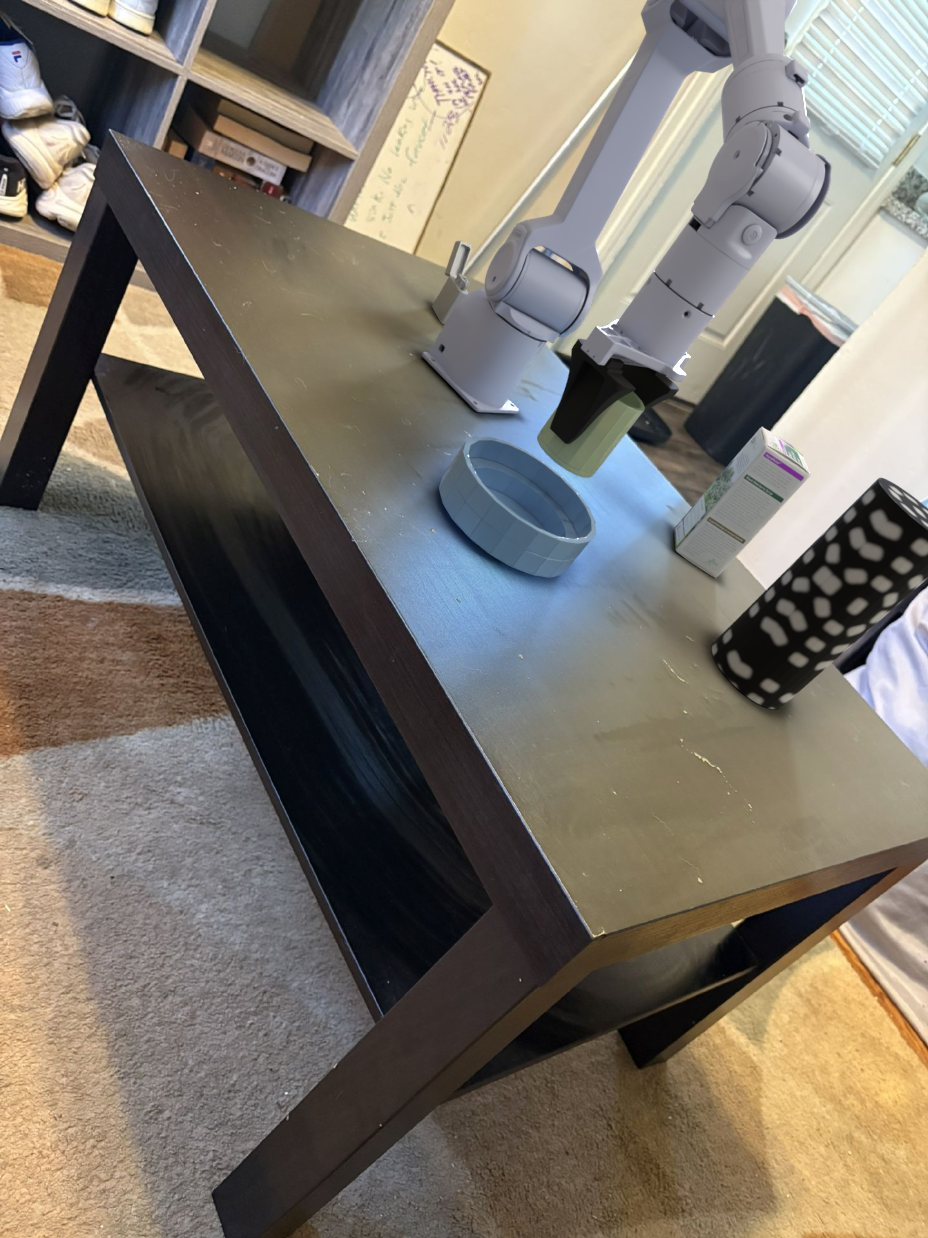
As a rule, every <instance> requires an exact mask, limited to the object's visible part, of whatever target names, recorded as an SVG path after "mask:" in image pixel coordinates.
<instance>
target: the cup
mask: <svg viewBox="0 0 928 1238" xmlns="http://www.w3.org/2000/svg"><path fill="white" fill-rule="evenodd" d="M557 408H558V406H556V408H555V410H554V411H552V414H551V415H550V416H549V418H548V419H547V420H546V422H545V423H544V425H543V426H542V428H540V430H539V432H538V433H537V436H536V439H537V443H538V445H539V447H540V448H541V450H542V451H543V452H544V453H545V454H546V456H548V458H550V459H551V460H552V461H553V462H554V463H556V464H557V465H558V466H560V467H561V468H562V469H563V470H566V471H567V472H569V473H570V474H573V475H575V476H577V477H579V478H584V479H591V478H592V477H593V476H594V475H595V474H596V473H597V472H598V470H599V469H600V468H601V466H602V465H603V464H604V463H605V462H606V460H607V459H608V458H609V456H610V455H611V454H612V452H614V450H615V448H616V447H617V446H618V445H619V443H620V442H621V441H622V439H623V438H624V437H625V436H626V435H627V433H628V432H629V430H630V429H632V427H633V425H634V424H635V423H636V422H637V421H638V419H639V418H640V416H641V415H643V414H642V412H643V411H644V409H645V407H644V404H643V402H642V401H641V399H640V398H639V397H638V396H637V395H636V394H635V393H634V392H631V393H629V394H627V395H625V396H624V397H622V398H620V399H619V400H617V401H616V402H614V403H613V404H612V405H611V406H609V407H608V408H607V409H606V410H605V411H603V412H602V413H601V414H600V415H599V416H598V417H597V418H596V419H595V420H594V421H593V422H592V424H591V425H590V426H589V427H588V428H587V429H586V430H585V431H584V432H583V433H582V434H581V435H580V436H579V437H578V438H577V439H576V440H575V441H573V442H572V443H571V444H565V443H564V442H563V441H562V440H561V439H560V438H559V437H558V436H557V435H556V434H555V433H554V432H553V431H552V430H551V429H550V426H551V423H552V420H553V417H554V415H555V412H556V410H557Z"/></svg>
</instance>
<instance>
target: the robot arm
mask: <svg viewBox="0 0 928 1238" xmlns="http://www.w3.org/2000/svg"><path fill="white" fill-rule="evenodd" d="M797 2H798V0H646V2H645V3H644V6H643V7H642V9H641V11H640V16H641V20H642V24H643V26H644V31H645V35H644V36H643V39H642V41H641V43H640V45H639V47H638V49H637V51H636V53H635V55H634V57H633V59H632V61H631V63H630V65H629V67H628V68H627V70H626V72H625V74H624V76H623V79H622V80H621V82H620V84H619V86H618V87H617V90H616V92H615V93H614V96H613V97H612V99H611V101H610V103H609V105H608V107H607V109H606V111H605V113H604V115H603V117H602V118H601V121H600V122H599V124H598V126H597V128H596V130H595V131H594V134H593V136H592V137H591V140H590V141H589V144H588V145H587V147H586V149H585V151H584V153H583V155H582V157H581V159H580V161H579V162H578V165H577V167H576V168H575V170H574V172H573V174H572V176H571V177H570V180H569V181H568V183H567V186H566V187H565V190H564V192H563V193H562V195H561V197H560V198H559V201H558V203H557V205H556V207H555V208H554V210H553V212H552V214H549V215H545V216H541V217H535V218H534V217H533V218H529V219H525V220H522V221H519V222H517V223H516V224H515V226H514V227H513V228H512V229H511V232H510V233H509V235H508V237H507V238H506V240H505V241H504V243H503V244H502V245H501V246H500V247H499V248H498V250H497V251H496V253H495V254H494V255H493V258H492V259H491V261H490V263H489V264H488V268H487V271H486V273H485V277H484V288H478V289H477V288H476V289H474V290H472V291H470V292H468V294H467V295H466V296H465V297H464V298H462V299H461V301H460V302H459V303H458V304H457V305H456V307H455V308H454V310H453V311H452V313H451V315H450V316H449V318H448V320H447V321H446V323H445V324H443V326H442V328H441V329H440V332H439V333H438V335H437V337H436V338H435V340H434V342H433V343H432V345H431V347H430V349H429V350H428V351H423V352H422V354H421V357H422V358H423V359H424V360H425V361H426V362H427V363H428V364H429V366H430V367H432V368H433V370H435V371H436V372H437V373H438V374H439V376H441V377H442V379H444V380H445V381H446V382H447V383H448V384H449V385H450V386H451V388H453V390H454V391H455V392H456V393H457V394H458V395H459V396H460V397H461V399H463V400H464V401H465V402H466V403H467V404H468V405H469V407H471V408H472V409H473V410H474V411H475V412H478V413H490V414H491V413H492V414H493V413H494V414H515V415H516V414H518V413H519V411H520V409H519V408H518V407H517V406H516V405H515V404H514V403H513V402H512V401H511V400H510V397H511V396H512V394H513V393H514V392H515V390H516V388H517V387H518V385H519V384H520V383H521V381H522V380H523V378H524V377H525V375H526V374H527V372H528V371H529V369H530V368H531V366H532V365H533V363H534V362H535V360H536V359H537V358H538V356H539V355H540V353H541V351H542V350H543V349H544V347H545V345H546V344H547V342H549V343H550V344H554V343H555V342H556V340H557V339H558V338H565V337H567V336H569V335H571V334H572V333H574V332H576V331H577V330H578V329H579V328H580V327H581V326H582V324H583V323H584V322H585V320H586V318H587V317H588V315H589V312H590V311H591V308H592V305H593V301H594V296H595V294H596V292H597V288H598V286H599V284H600V282H601V280H602V278H603V276H604V270H603V266H602V263H601V259H600V256H599V255H600V254H599V251H598V248H597V241H598V239H599V237H600V235H601V233H602V231H603V230H604V228H605V226H606V224H607V222H608V221H609V219H610V217H611V215H612V213H613V211H614V209H615V208H616V206H617V204H618V202H619V200H620V199H621V197H622V195H623V193H624V191H625V189H626V187H627V185H628V184H629V182H630V180H631V178H632V176H633V175H634V173H635V171H636V169H637V168H638V165H639V164H640V162H641V160H642V158H643V156H644V155H645V153H646V151H647V149H648V147H649V145H650V143H651V142H652V140H653V138H654V136H655V134H656V133H657V131H658V129H659V127H660V126H661V124H662V122H663V119H664V118H665V116H666V114H667V112H668V111H669V109H670V107H671V105H672V103H673V101H674V99H676V96H677V94H678V92H679V90H680V89H681V87H682V85H683V83H684V81H685V80H686V78H687V77H688V76H690V75H692V74H693V73H695V72H700V73H709V74H716V73H717V72H719V71H720V70H723V69H725V68H726V67H729V66H731V65H732V68H733V70H732V71H731V73H730V74H729V76H728V77H727V78H726V80H725V82H724V85H723V87H722V90H721V96H720V97H721V98H720V105H721V122H722V123H721V124H722V141H723V142H722V143H723V144H722V145H721V147H720V148H719V150H718V152H717V153H716V155H715V157H714V159H713V161H712V163H711V166H710V168H709V171H708V173H707V176H706V177H707V178H706V181H705V183H704V184H703V187H702V188H701V190H700V191H699V193H698V194H697V195H696V197H695V198H694V200H693V205H692V206H691V207H690V212H691V213H692V216H691V218H689V221H688V222H687V223H686V224H685V226H684V228H683V229H682V230H681V231H680V233H679V234H678V236H677V237H676V238H675V240H674V242H673V243H672V244H671V246H670V247H669V248H668V250H667V251H666V253H665V254H664V256H663V257H662V258H661V259H660V261H659V262H658V264H657V265H656V266H655V267H654V270H652V272H651V273H650V275H649V277H648V278H647V279H646V281H645V282H644V283H643V285H642V287H640V289H639V291H637V293H636V295H635V297H634V298H633V299H632V300H631V302H630V303H629V305H628V306H627V307H626V309H625V310H624V312H623V313H622V315H620V317H619V318H617V319H614V320H613V321H611V322H609V323H607V324H606V325H604V326H598V325H595V327H594V328H593V330H592V331H591V333H590V334H589V335H588V337H587V338H586V339H584V338H577V340H576V341H575V343H574V344H573V346H572V348H571V350H570V351H571V352H570V353H571V354H570V362H569V363H570V365H569V371H568V375H567V380H566V383H565V386H564V390H563V391H562V395H561V397H560V400H559V403H558V405H557V407H558V408H557V407H556V408H557V410H556V412H555V415H554V417H553V420H552V423H551V426H550V429H551V430H552V431H553V432H554V433H555V434H556V435H557V436H558V437H559V438H560V439H561V440H562V441H563V442H564V443H565V444H571V443H572V442H573V441H575V440H576V439H577V438H578V437H579V436H580V435H581V434H582V433H583V432H584V431H585V430H586V429H587V428H588V427H589V426H590V425H591V424H592V422H593V421H594V420H595V419H596V418H597V417H598V416H599V415H600V414H601V413H602V412H603V411H605V410H606V409H607V408H608V407H609V406H611V405H612V404H613V403H614V402H616V401H617V400H619V399H620V398H622V397H624V396H625V395H627V394H629V393H631V392H634V393H635V394H636V395H637V396H638V397H639V398H640V399H641V401H642V402H643V404H644V407H645V409H644V411H643V412H642V414H641V415H643V414H644V413H645V412H647V411H649V410H650V409H652V408H654V407H655V406H657V405H658V404H659V405H660V403H662V402H665V401H667V400H668V399H672V398H673V397H674V396H676V394H677V393H678V392H679V390H680V388H679V386H678V385H677V384H676V383H682V382H683V381H684V380H685V378H686V377H687V373H686V372H685V371H684V370H683V369H684V367H685V366H686V365H687V364H688V362H689V361H690V359H691V356H690V355H689V354H688V353H687V352H688V351H689V350H690V349H691V347H692V345H693V344H694V343H695V342H696V341H697V339H698V338H699V336H700V335H701V334H702V333H703V332H704V330H705V329H707V327H708V325H709V324H710V323H711V321H712V320H713V319H714V318H715V316H716V315H717V314H718V313H719V311H720V310H721V309H722V308H723V306H724V305H725V304H726V302H727V301H728V299H729V298H730V297H731V296H732V294H734V292H735V291H736V289H737V288H738V286H740V284H741V283H742V281H744V279H745V278H746V276H747V275H748V274H749V272H750V271H751V270H752V269H753V267H754V266H755V265H756V263H757V262H758V261H759V259H760V258H761V257H762V255H763V254H764V253H765V252H766V251H767V250H768V248H769V246H770V245H771V244H772V243H773V242H774V240H783V239H787V238H789V237H792V236H793V235H795V234H796V233H798V232H799V231H801V230H802V229H803V228H804V227H805V226H806V225H807V224H809V222H810V221H811V220H812V219H813V218H814V217H815V215H816V214H817V213H818V212H819V210H820V209H821V207H822V206H823V204H824V202H825V200H826V198H827V197H828V196H827V195H828V193H829V191H830V187H831V182H832V171H833V164H832V163H831V161H830V160H828V158H826V157H825V156H824V155H822V154H819V153H815V150H813V149H812V148H811V143H810V142H811V141H810V135H809V132H810V130H811V129H812V127H811V126H812V125H811V119H810V117H808V116H807V108H806V99H805V91H804V87H805V86H806V85H807V84H808V83H809V74H808V70H807V69H806V68H805V67H804V66H802V65H801V64H800V63H799V61H797V60H796V59H792V58H790V57H788V56H786V55H785V52H786V51H785V49H786V48H785V46H786V43H785V41H786V22H787V20H788V18H789V17H790V15H791V13H792V12H793V10H794V8H795V6H796V4H797ZM537 247H542V248H543V249H545V250H546V251H549V252H550V253H552V254H554V255H555V256H557V257H558V258H560V259H562V260H563V261H565V262H566V263H567V264H569V265H570V267H571V269H570V268H569V267H567V266H565V265H563V264H562V263H560V262H559V261H556V259H553V258H552V257H550V256H549V255H547V254H545V253H544V252H542V251H540V250H538V249H537ZM675 382H676V383H675Z"/></svg>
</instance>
